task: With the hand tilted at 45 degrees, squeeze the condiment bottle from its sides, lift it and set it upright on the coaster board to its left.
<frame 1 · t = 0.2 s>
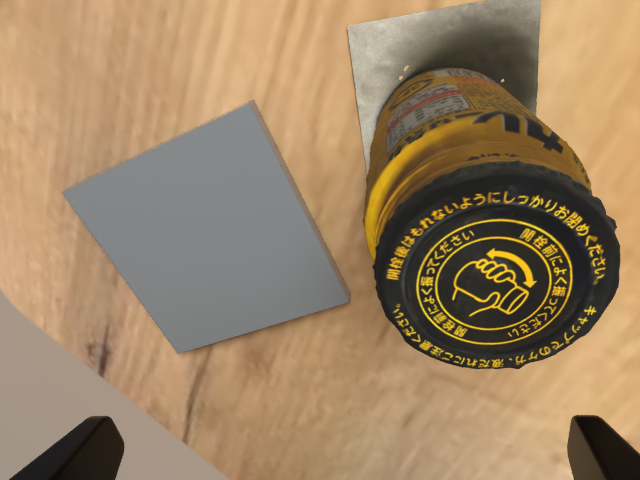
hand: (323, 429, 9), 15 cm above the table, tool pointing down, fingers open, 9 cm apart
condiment: (444, 115, 20), on the table
coaster board: (213, 240, 25), on the table
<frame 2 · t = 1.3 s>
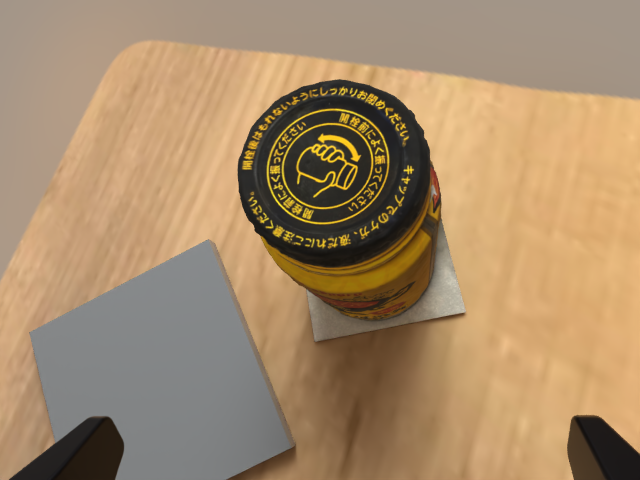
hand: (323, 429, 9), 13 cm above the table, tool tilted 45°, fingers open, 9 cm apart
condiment: (371, 245, 24), on the table
coaster board: (157, 384, 24), on the table
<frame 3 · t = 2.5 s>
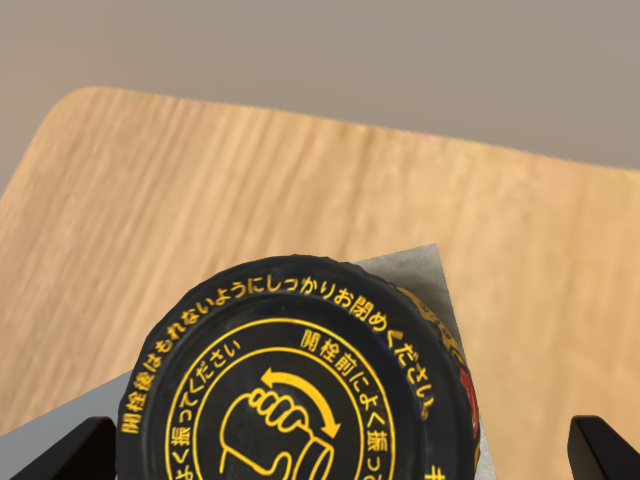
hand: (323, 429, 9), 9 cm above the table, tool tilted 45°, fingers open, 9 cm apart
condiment: (367, 371, 18), on the table
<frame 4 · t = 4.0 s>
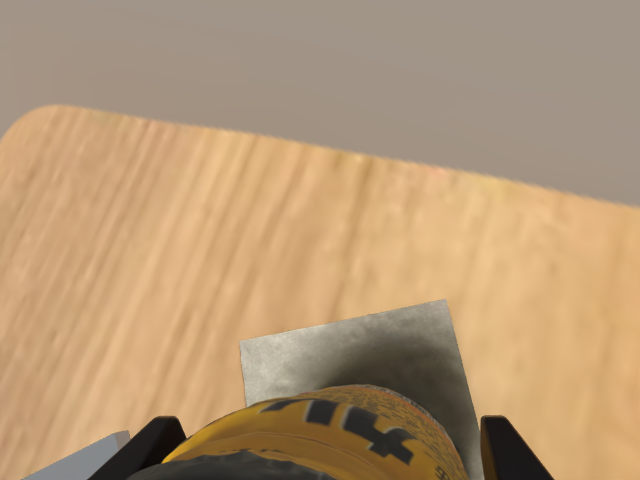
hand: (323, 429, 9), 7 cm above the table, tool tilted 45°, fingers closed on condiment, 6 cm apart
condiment: (364, 451, 15), on the table, touching gripper
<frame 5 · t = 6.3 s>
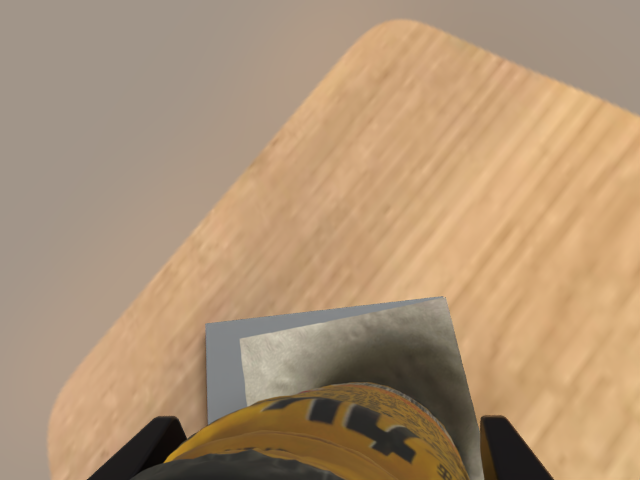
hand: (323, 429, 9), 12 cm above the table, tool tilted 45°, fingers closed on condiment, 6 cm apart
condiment: (364, 448, 15), point 5 cm above the table, touching gripper
coaster board: (334, 438, 20), on the table
when the fingers open (9 cm above the table, at t = 8.2 s): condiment drops 1 cm, resting on coaster board.
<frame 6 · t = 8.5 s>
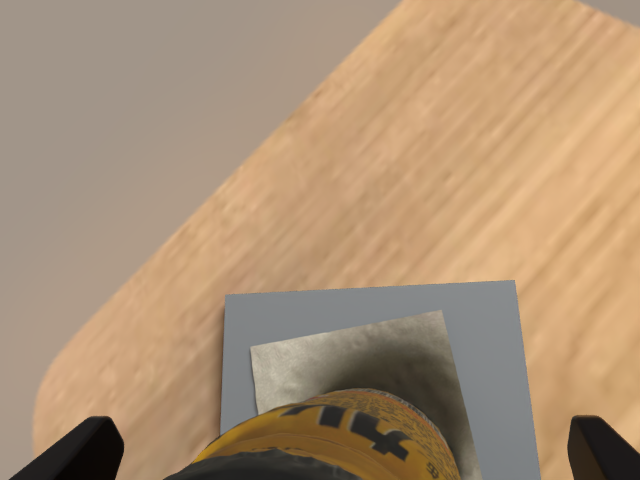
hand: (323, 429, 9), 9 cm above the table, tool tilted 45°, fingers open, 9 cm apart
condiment: (366, 449, 17), point 1 cm above the table, touching coaster board
coaster board: (370, 440, 17), on the table
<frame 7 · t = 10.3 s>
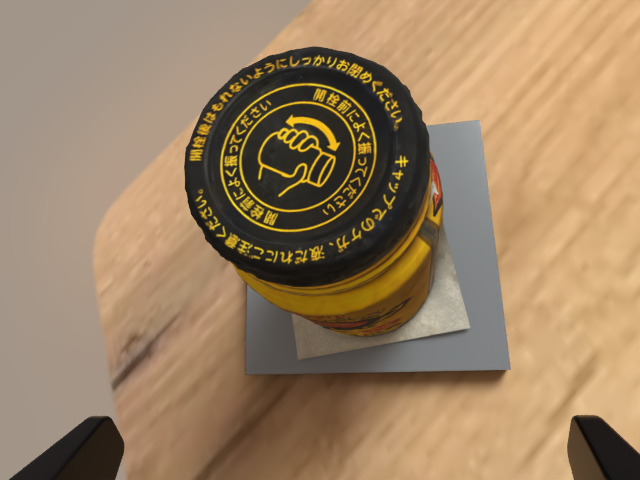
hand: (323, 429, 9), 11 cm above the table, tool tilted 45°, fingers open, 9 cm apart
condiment: (363, 250, 21), point 1 cm above the table, touching coaster board
coaster board: (366, 248, 22), on the table
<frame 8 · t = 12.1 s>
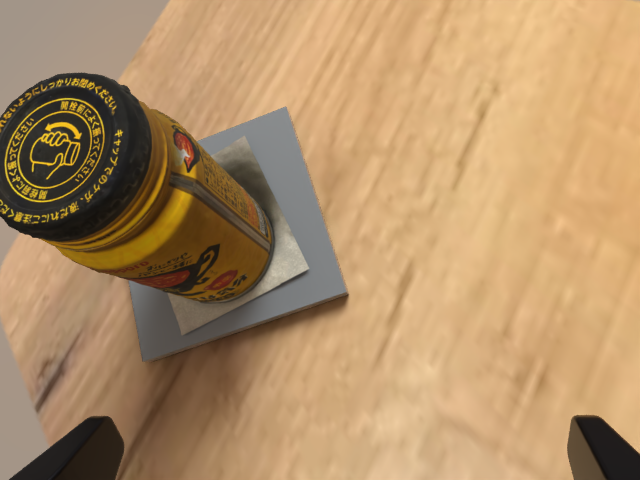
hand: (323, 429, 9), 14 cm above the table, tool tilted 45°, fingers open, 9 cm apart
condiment: (218, 233, 25), point 1 cm above the table, touching coaster board
coaster board: (223, 232, 26), on the table
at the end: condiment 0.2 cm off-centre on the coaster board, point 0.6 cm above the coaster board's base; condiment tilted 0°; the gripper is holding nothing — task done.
